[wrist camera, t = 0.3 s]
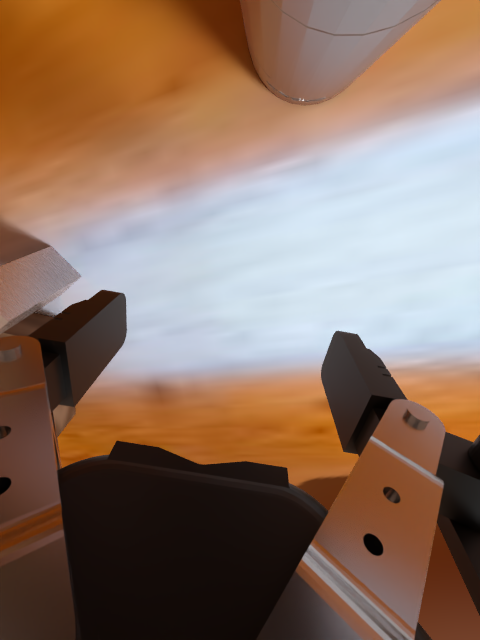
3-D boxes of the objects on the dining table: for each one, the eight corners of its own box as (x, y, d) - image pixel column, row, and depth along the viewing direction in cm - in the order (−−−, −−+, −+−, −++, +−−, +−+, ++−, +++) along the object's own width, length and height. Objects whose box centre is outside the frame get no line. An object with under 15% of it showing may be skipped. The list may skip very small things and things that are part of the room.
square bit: (51, 246, 30) (-40, 281, 21) (81, 276, 31) (8, 321, 22) (30, 267, 31) (-64, 309, 22) (60, 295, 32) (-17, 345, 24)
